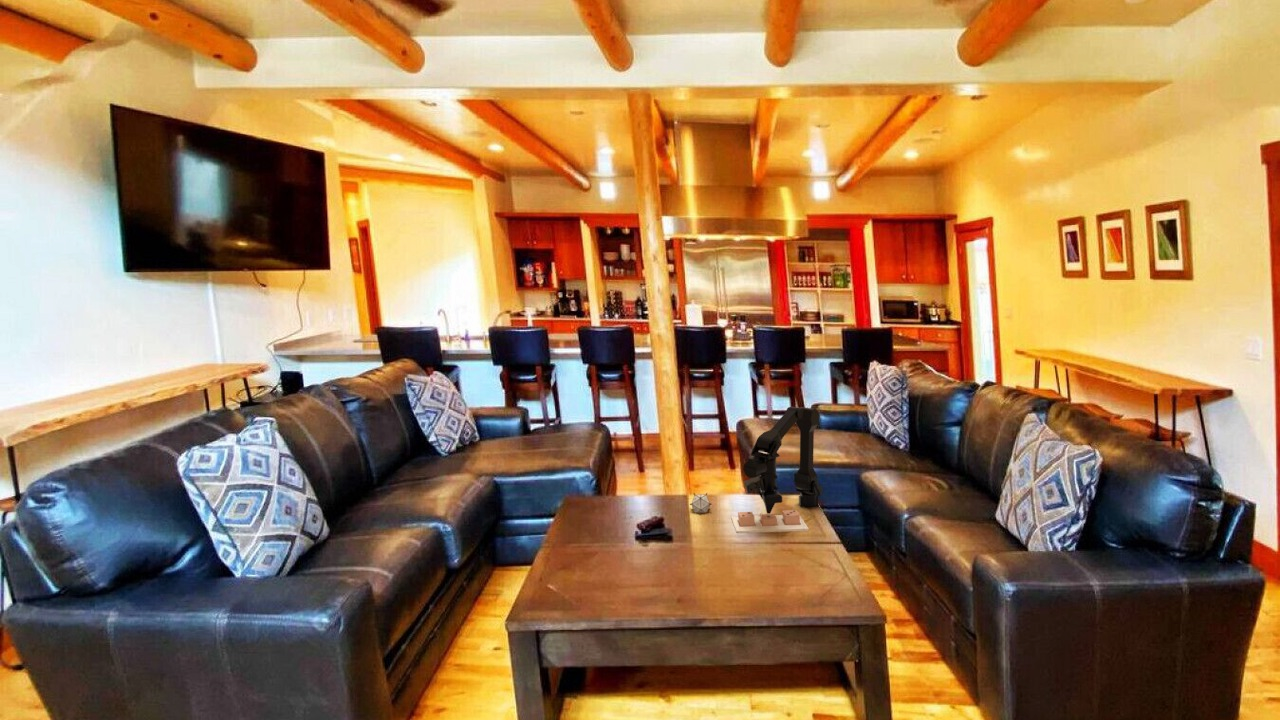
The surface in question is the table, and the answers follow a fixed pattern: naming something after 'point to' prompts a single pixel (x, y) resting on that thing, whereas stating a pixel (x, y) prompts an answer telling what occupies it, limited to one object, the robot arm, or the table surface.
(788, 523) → the tile three dots
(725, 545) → the table surface
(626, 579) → the table surface
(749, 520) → the tile two dots
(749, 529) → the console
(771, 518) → the tile one dot
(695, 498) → the game die
